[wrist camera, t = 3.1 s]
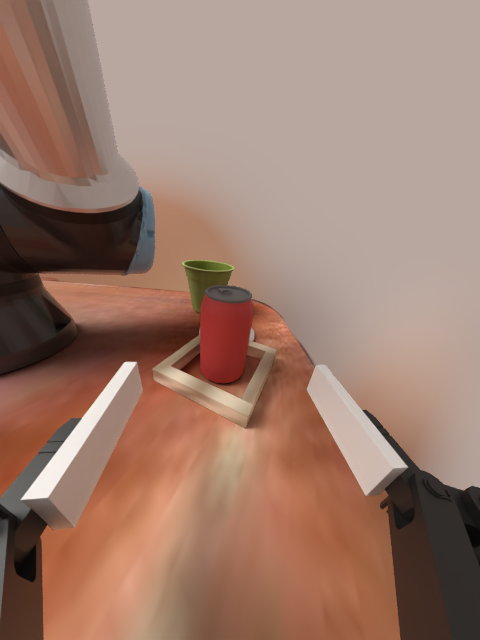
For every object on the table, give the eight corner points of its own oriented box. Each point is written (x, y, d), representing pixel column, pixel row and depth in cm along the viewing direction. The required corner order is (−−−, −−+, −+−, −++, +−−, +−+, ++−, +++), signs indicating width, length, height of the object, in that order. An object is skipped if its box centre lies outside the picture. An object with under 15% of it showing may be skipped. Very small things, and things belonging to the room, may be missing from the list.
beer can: (226, 349, 29) (233, 282, 24) (253, 372, 25) (268, 296, 20) (191, 364, 25) (190, 286, 20) (216, 394, 21) (222, 306, 16)
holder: (154, 380, 22) (152, 368, 21) (209, 335, 33) (210, 326, 32) (245, 428, 18) (248, 416, 17) (274, 359, 29) (277, 349, 28)
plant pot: (178, 317, 38) (175, 266, 33) (189, 299, 49) (188, 258, 44) (230, 321, 39) (235, 272, 34) (230, 302, 50) (233, 263, 45)
